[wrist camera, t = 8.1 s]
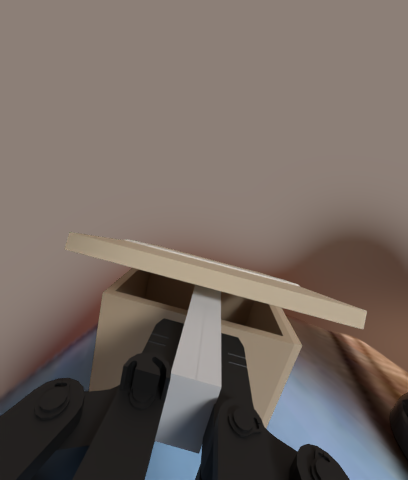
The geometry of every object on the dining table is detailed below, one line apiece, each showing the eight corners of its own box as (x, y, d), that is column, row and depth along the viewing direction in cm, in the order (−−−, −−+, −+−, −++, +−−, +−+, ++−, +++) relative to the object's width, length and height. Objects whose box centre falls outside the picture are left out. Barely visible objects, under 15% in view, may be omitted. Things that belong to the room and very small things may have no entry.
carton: (243, 359, 26) (270, 284, 24) (257, 456, 16) (305, 347, 14) (135, 329, 26) (150, 252, 24) (86, 407, 17) (102, 292, 14)
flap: (262, 280, 24) (264, 273, 24) (363, 329, 9) (367, 309, 9) (152, 251, 24) (154, 243, 24) (64, 249, 9) (70, 229, 9)
